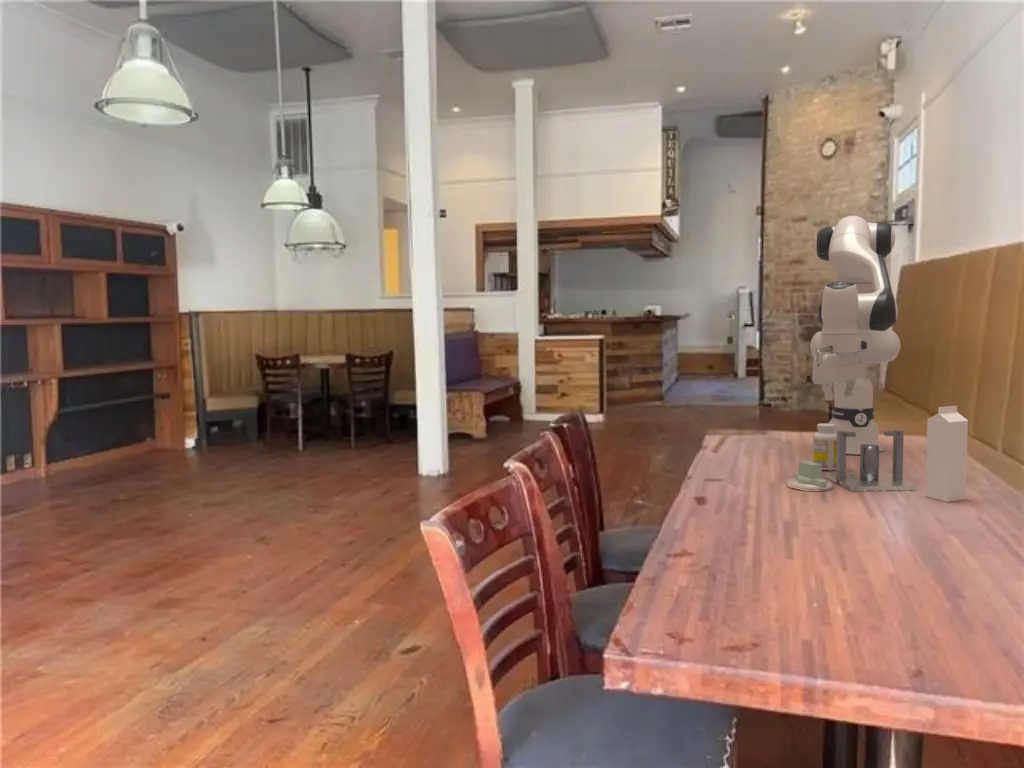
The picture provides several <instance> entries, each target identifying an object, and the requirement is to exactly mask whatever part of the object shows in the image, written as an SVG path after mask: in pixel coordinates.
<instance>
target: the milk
mask: <svg viewBox="0 0 1024 768" xmlns="http://www.w3.org/2000/svg"><path fill="white" fill-rule="evenodd" d="M926 426H927V427H926V461H925V463H926V465H925V497H926V498H930V499H933V500H937V501H942V502H945V503H952V502H957V501H963V500H966V499H967V469H968V468H967V467H968V465H967V464H968V438H969V437H968V436H969V435H968V433H969V430H968V429H969V427H968V426H969V420H968V419H967V418H965V417H964V416H963V415H962V414H960V413H959V412H958V406H957V405H950V406H949V405H948V406H939V407H938V411H937V413H936V414H934V415H933V416H931V417H929V418H927V423H926Z"/></svg>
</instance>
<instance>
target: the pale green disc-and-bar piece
mask: <svg viewBox="0 0 1024 768" xmlns="http://www.w3.org/2000/svg"><path fill="white" fill-rule="evenodd" d="M822 473H823V472H822V464H818V463H815V462H814V461H811V460H799V461H798V471H797V472H793V478H798V482H799V483H802V484H810V485H819V486H827V481H825V480H826V479H825V480H823V479H824V478H823V476H822V475H823V474H822Z"/></svg>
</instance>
